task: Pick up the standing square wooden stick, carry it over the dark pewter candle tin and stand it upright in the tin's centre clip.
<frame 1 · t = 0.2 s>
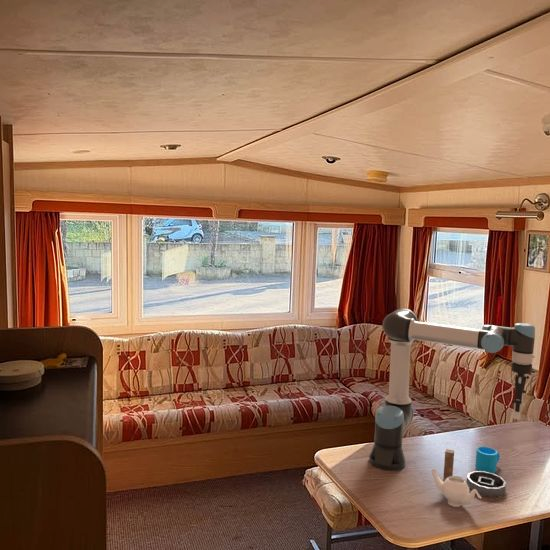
hand: (517, 413, 216), 28 cm above the table, fingers open, 13 cm apart
teapot: (454, 503, 199), on the table
square wooden stick: (447, 482, 215), on the table
mug: (488, 468, 228), on the table
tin: (485, 488, 211), on the table
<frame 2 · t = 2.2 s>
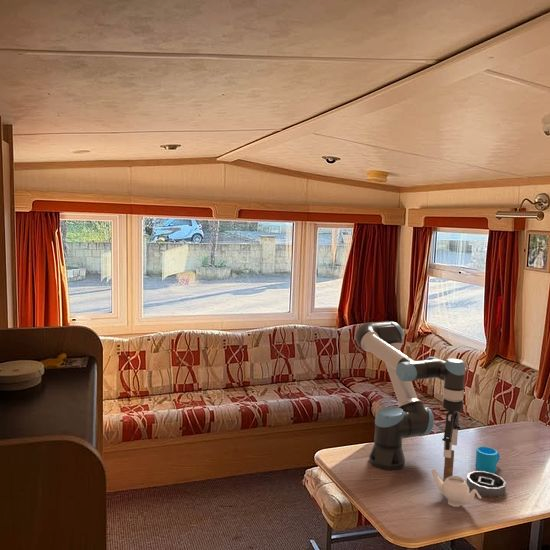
hand: (450, 450, 213), 13 cm above the table, fingers open, 13 cm apart
nothing on the table moved.
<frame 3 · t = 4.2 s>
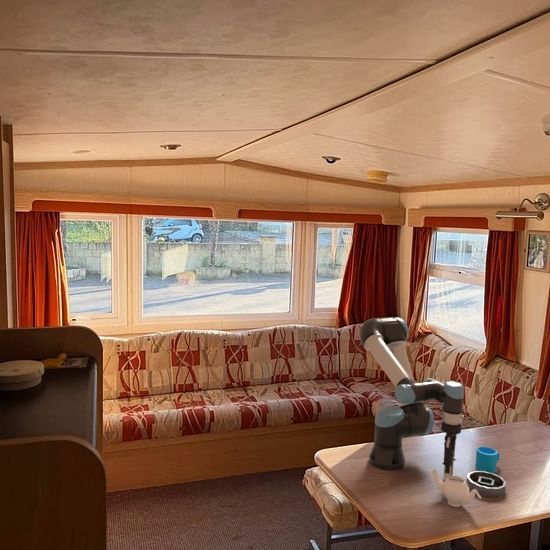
hand: (447, 477, 215), 2 cm above the table, fingers closed on square wooden stick, 3 cm apart
square wooden stick: (447, 482, 215), on the table, touching gripper
everything else where it was.
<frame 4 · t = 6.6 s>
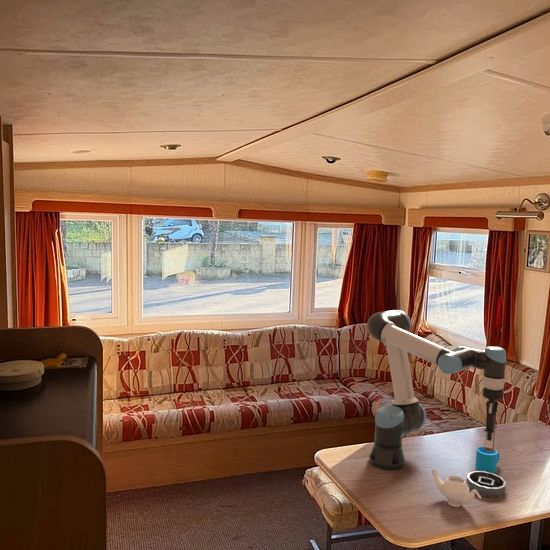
hand: (489, 445, 209), 17 cm above the table, fingers closed on square wooden stick, 3 cm apart
square wooden stick: (489, 450, 209), point 16 cm above the table, touching gripper
everything else where it was.
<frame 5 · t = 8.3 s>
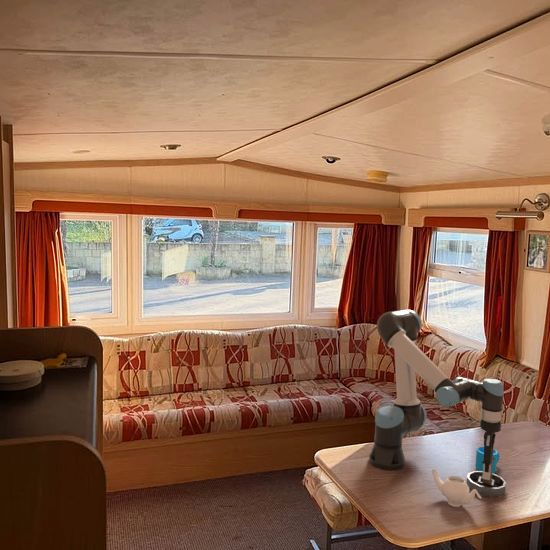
hand: (486, 477, 210), 5 cm above the table, fingers closed on square wooden stick, 3 cm apart
square wooden stick: (486, 481, 210), point 3 cm above the table, touching gripper
everything else where it was.
when the fingers open (4 cm above the table, at t = 9.3 s): square wooden stick drops 1 cm, resting on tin.
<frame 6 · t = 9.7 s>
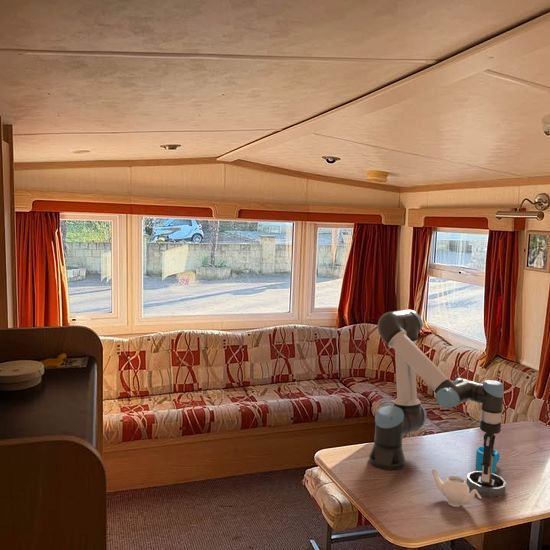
hand: (486, 476, 210), 5 cm above the table, fingers open, 8 cm apart
square wooden stick: (485, 486, 211), point 1 cm above the table, touching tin
everything else where it was.
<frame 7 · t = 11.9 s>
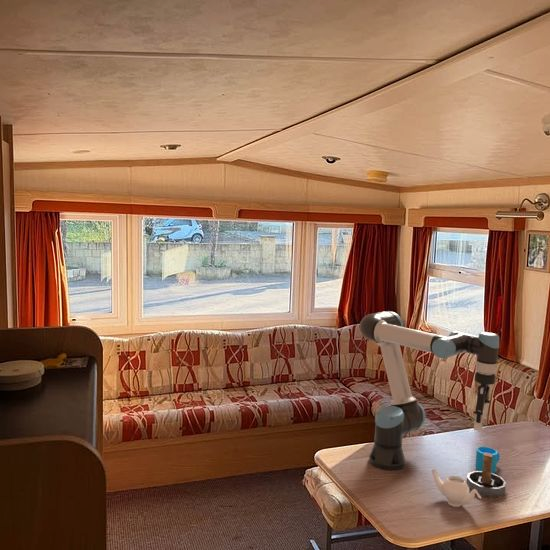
hand: (480, 424, 212), 25 cm above the table, fingers open, 13 cm apart
nothing on the table moved.
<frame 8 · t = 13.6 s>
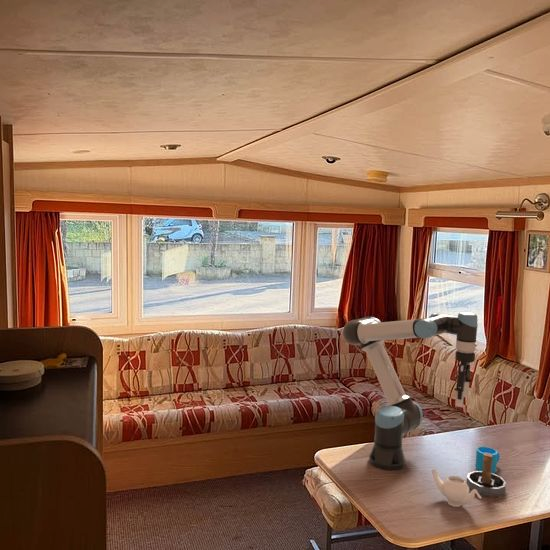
hand: (462, 401, 219), 31 cm above the table, fingers open, 13 cm apart
nothing on the table moved.
at the end: square wooden stick 0.1 cm off-centre on the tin, point 0.8 cm above the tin's base; square wooden stick tilted 0°; the gripper is holding nothing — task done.
